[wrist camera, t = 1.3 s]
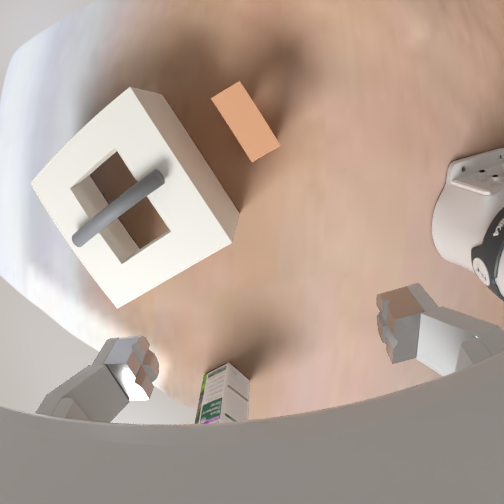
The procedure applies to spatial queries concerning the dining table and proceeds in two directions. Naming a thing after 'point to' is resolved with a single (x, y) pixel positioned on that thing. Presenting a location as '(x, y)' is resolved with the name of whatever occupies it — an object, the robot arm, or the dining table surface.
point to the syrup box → (223, 396)
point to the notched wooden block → (245, 121)
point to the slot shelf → (171, 200)
